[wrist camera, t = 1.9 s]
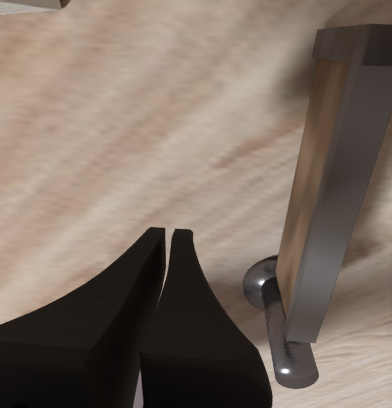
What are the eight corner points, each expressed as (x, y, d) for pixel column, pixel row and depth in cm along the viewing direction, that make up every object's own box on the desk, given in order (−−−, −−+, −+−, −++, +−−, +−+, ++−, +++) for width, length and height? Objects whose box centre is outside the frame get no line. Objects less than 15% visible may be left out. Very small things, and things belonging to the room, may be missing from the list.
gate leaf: (292, 269, 22) (315, 343, 17) (270, 267, 22) (286, 340, 17) (348, 30, 15) (420, 25, 10) (315, 29, 15) (369, 23, 10)
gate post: (301, 308, 25) (330, 405, 18) (240, 303, 25) (247, 397, 19) (315, 260, 23) (354, 351, 16) (247, 255, 23) (258, 343, 16)
